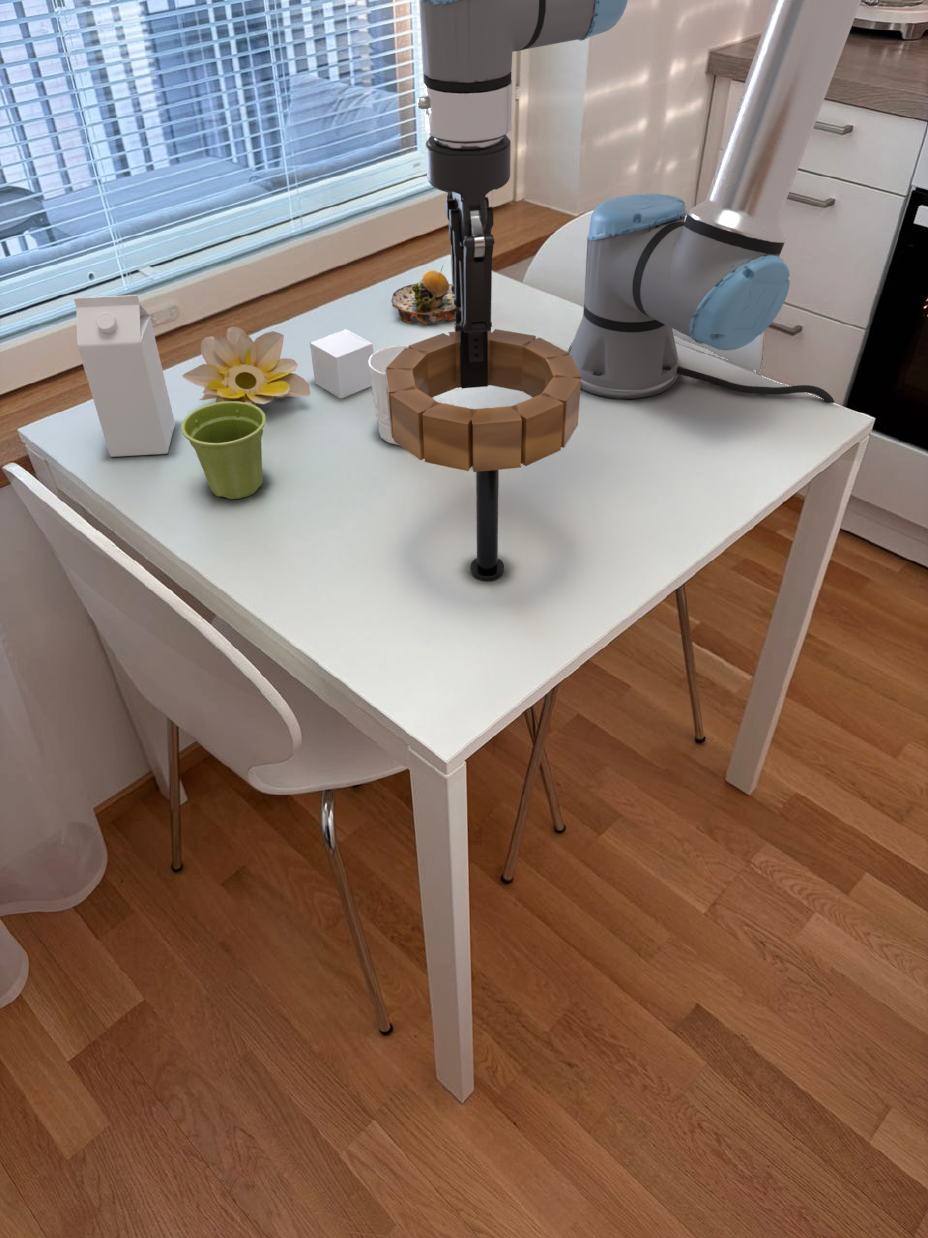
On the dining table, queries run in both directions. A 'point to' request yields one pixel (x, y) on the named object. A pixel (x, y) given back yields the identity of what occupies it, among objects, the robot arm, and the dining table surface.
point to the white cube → (342, 363)
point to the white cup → (382, 387)
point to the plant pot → (228, 446)
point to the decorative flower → (246, 369)
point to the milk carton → (124, 374)
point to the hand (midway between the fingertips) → (472, 377)
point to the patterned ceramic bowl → (426, 299)
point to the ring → (486, 431)
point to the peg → (487, 527)
